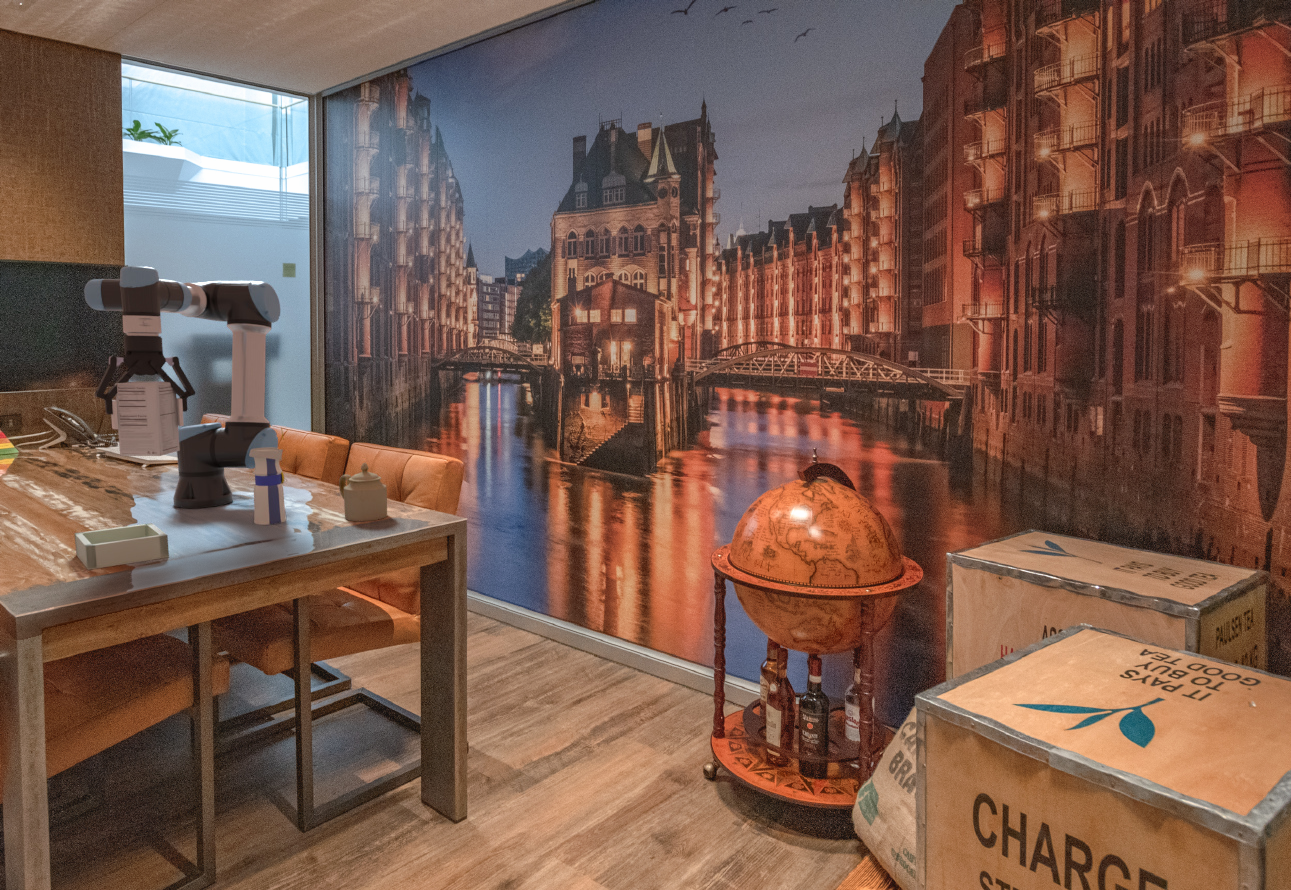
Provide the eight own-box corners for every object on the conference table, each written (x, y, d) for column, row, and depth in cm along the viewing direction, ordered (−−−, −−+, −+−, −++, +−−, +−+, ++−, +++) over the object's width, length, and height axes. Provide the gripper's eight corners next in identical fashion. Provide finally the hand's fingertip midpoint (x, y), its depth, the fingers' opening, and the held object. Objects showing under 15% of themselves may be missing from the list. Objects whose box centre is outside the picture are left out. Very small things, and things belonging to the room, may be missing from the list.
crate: (153, 543, 190) (151, 523, 189) (169, 556, 179) (167, 535, 178) (76, 555, 180) (74, 533, 179) (88, 569, 169) (86, 546, 168)
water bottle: (280, 516, 220) (275, 425, 216) (292, 521, 214) (287, 427, 210) (248, 520, 214) (243, 427, 210) (260, 526, 208) (254, 430, 204)
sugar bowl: (323, 520, 215) (321, 465, 213) (343, 511, 226) (340, 458, 224) (376, 522, 214) (374, 466, 212) (394, 513, 225) (392, 460, 223)
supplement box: (140, 450, 193) (136, 380, 191) (181, 450, 194) (176, 381, 192) (118, 456, 184) (113, 382, 182) (160, 456, 185) (156, 382, 183)
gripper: (81, 333, 175) (87, 431, 177) (206, 335, 191) (211, 425, 194) (75, 334, 180) (82, 428, 183) (197, 336, 197) (202, 423, 199)
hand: (148, 427), depth 188 cm, fingers closed on supplement box, 12 cm apart
